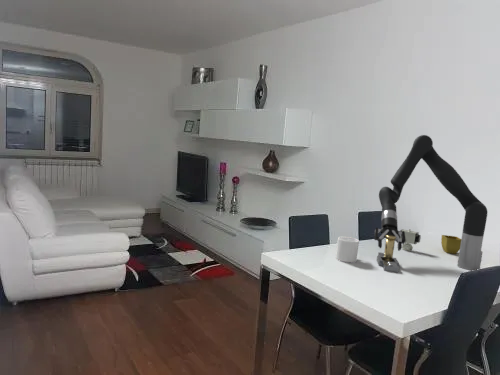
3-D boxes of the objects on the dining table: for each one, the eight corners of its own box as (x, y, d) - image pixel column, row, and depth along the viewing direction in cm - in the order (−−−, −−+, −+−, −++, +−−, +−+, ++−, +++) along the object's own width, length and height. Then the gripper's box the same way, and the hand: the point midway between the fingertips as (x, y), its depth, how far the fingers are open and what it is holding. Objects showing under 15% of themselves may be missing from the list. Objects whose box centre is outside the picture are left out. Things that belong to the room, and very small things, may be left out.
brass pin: (391, 263, 191) (395, 235, 190) (393, 266, 187) (397, 237, 185) (381, 262, 192) (385, 234, 190) (382, 264, 187) (386, 236, 186)
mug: (348, 264, 184) (351, 242, 183) (331, 258, 191) (333, 237, 190) (363, 260, 192) (365, 240, 191) (346, 254, 200) (348, 235, 198)
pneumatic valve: (416, 253, 216) (419, 232, 214) (395, 248, 223) (398, 227, 221) (419, 251, 220) (422, 230, 219) (397, 246, 227) (400, 226, 226)
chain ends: (393, 259, 200) (393, 253, 199) (401, 273, 177) (402, 266, 177) (374, 256, 201) (375, 250, 201) (380, 270, 179) (381, 263, 178)
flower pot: (454, 251, 229) (456, 236, 228) (461, 255, 220) (463, 240, 219) (439, 249, 229) (441, 234, 228) (444, 253, 221) (447, 238, 220)
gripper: (376, 214, 195) (375, 242, 185) (405, 218, 193) (407, 246, 183) (373, 223, 201) (373, 250, 191) (402, 226, 198) (403, 254, 189)
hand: (389, 248), depth 187 cm, fingers open, 8 cm apart
